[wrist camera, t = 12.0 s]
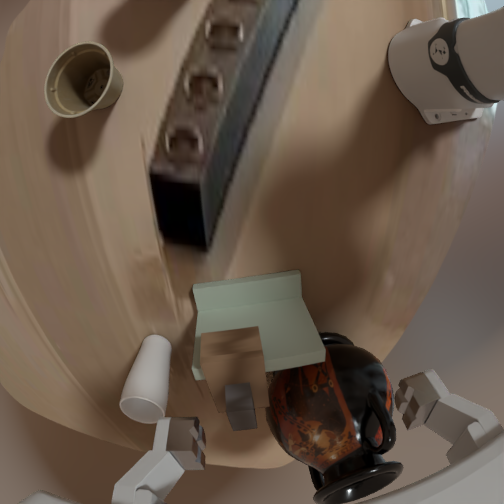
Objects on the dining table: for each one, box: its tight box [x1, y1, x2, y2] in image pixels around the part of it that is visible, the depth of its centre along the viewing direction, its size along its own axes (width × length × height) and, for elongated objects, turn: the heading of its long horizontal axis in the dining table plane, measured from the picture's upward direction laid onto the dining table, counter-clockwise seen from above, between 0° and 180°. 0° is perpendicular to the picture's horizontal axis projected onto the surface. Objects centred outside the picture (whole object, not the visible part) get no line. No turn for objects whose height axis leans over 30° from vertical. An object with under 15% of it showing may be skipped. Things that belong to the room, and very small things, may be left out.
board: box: [192, 270, 326, 380], centre depth 38 cm, size 16×6×14 cm, turn 97°
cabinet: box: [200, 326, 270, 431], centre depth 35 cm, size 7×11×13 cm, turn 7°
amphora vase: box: [265, 332, 403, 504], centre depth 39 cm, size 22×22×28 cm
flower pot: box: [44, 41, 123, 118], centre depth 27 cm, size 9×9×9 cm
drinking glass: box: [119, 335, 172, 424], centre depth 40 cm, size 7×7×15 cm
